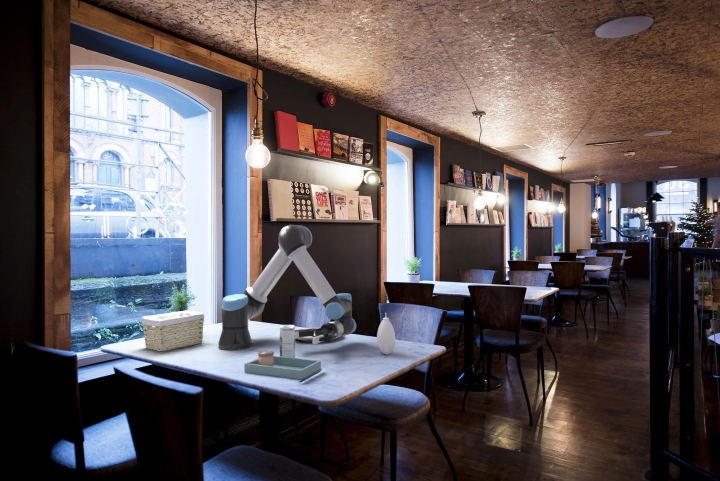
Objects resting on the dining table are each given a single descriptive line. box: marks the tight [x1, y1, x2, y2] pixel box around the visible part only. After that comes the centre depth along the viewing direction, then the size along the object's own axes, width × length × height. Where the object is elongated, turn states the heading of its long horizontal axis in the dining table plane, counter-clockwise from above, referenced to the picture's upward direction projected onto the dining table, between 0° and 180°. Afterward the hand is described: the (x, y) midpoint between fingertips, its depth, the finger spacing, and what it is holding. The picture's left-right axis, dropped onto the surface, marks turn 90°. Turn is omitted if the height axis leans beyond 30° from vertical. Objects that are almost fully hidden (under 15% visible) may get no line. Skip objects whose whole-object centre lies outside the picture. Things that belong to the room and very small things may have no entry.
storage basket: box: [141, 310, 205, 352], centre depth 221 cm, size 24×16×15 cm
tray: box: [243, 355, 322, 383], centre depth 173 cm, size 24×14×4 cm, turn 66°
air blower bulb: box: [376, 312, 396, 355], centre depth 201 cm, size 8×8×18 cm
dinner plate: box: [295, 327, 319, 343], centre depth 235 cm, size 28×27×3 cm
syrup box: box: [279, 324, 296, 358], centre depth 189 cm, size 6×6×14 cm
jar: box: [257, 350, 275, 367], centre depth 176 cm, size 6×6×6 cm
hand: (300, 339), depth 195 cm, fingers open, 13 cm apart
